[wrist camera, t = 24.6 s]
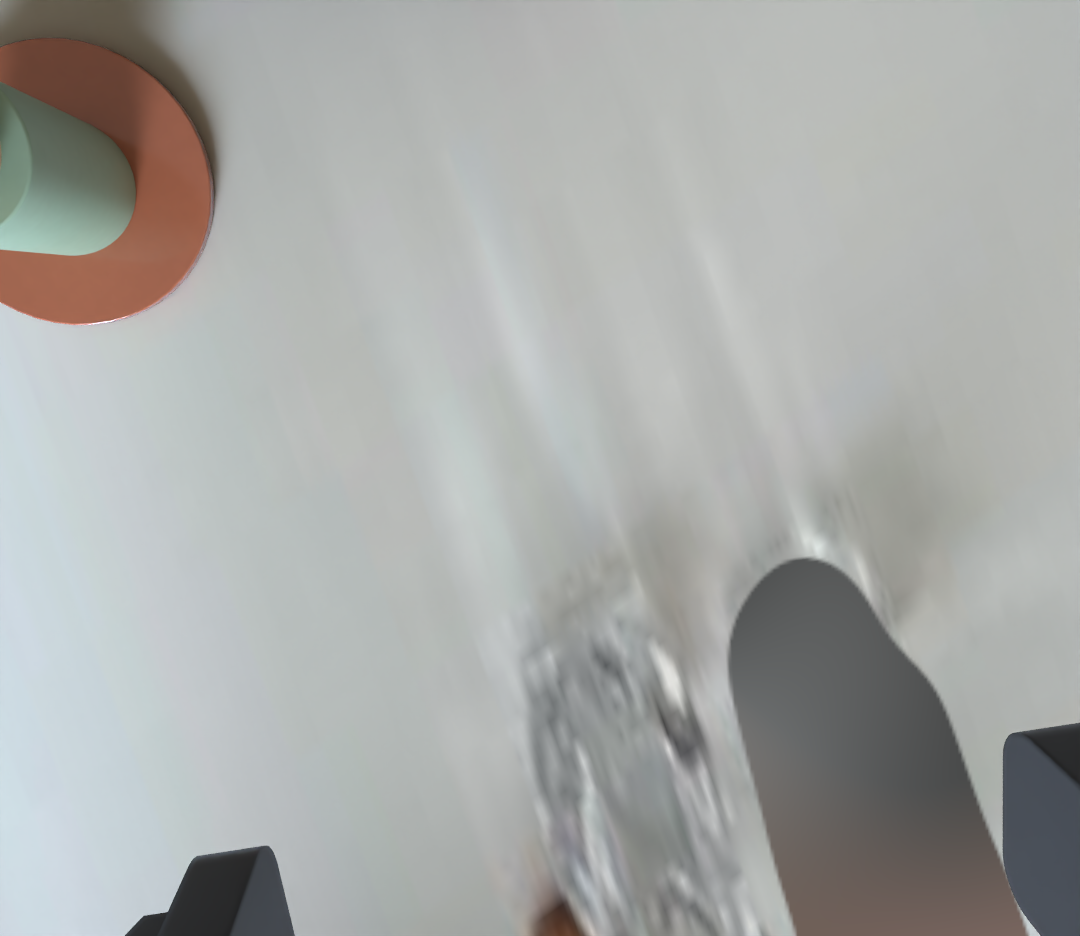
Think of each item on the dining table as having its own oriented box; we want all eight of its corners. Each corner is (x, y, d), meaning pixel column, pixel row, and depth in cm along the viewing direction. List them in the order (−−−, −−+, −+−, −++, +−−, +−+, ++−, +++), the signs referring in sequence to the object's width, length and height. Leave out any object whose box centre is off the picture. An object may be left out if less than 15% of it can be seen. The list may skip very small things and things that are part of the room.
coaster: (121, -8, 33) (115, -14, 32) (264, 250, 35) (261, 249, 34) (-131, 119, 33) (-141, 116, 32) (29, 370, 35) (22, 371, 34)
